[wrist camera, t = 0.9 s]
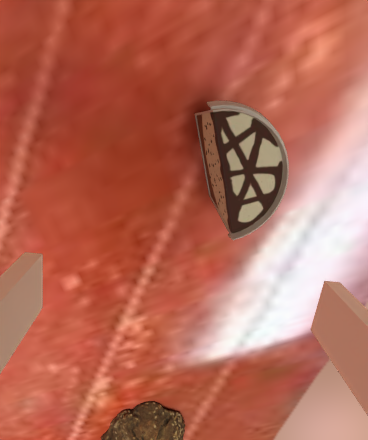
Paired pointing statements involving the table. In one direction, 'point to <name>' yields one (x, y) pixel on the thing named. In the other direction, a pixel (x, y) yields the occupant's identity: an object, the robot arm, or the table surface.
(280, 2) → the table surface
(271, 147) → the food container
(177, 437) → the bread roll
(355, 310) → the robot arm
